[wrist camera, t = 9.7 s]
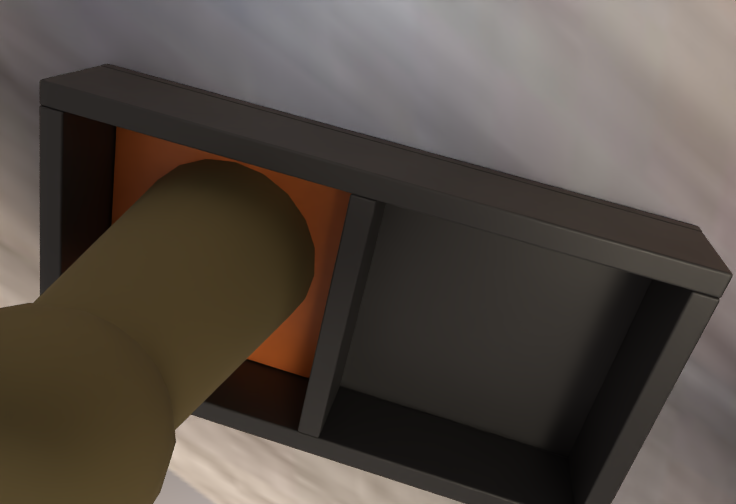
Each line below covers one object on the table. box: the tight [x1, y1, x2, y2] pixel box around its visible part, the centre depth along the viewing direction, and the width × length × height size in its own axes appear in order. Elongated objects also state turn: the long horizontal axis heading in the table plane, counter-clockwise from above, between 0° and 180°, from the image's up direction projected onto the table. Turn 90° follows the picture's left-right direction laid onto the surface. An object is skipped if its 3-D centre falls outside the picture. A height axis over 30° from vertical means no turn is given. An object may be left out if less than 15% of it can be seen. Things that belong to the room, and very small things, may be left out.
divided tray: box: [39, 64, 732, 504], centre depth 20 cm, size 9×18×3 cm, turn 77°
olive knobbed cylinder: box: [0, 159, 315, 504], centre depth 16 cm, size 6×6×11 cm
